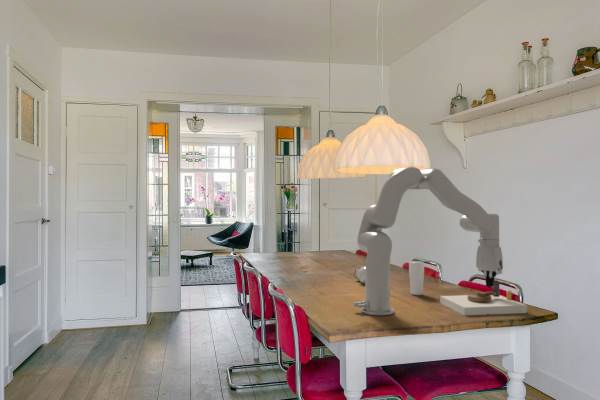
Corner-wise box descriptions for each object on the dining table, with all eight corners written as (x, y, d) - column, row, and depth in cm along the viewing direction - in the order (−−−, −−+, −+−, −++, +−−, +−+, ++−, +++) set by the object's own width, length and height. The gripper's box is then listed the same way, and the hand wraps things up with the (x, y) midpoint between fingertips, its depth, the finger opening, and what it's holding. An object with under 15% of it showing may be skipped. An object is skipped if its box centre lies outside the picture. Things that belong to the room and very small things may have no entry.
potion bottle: (369, 288, 226) (357, 286, 240) (382, 276, 229) (370, 275, 243) (358, 274, 225) (347, 273, 240) (372, 262, 228) (360, 261, 242)
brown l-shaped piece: (479, 303, 176) (479, 286, 175) (462, 298, 184) (462, 282, 184) (507, 299, 181) (507, 283, 181) (489, 295, 190) (489, 279, 189)
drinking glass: (412, 292, 212) (412, 260, 212) (426, 294, 207) (426, 261, 207) (406, 294, 206) (406, 262, 206) (420, 296, 202) (420, 263, 202)
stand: (464, 315, 170) (464, 298, 170) (440, 303, 190) (440, 287, 190) (526, 312, 174) (526, 296, 174) (496, 301, 193) (497, 286, 193)
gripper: (468, 242, 192) (469, 284, 192) (499, 245, 179) (500, 290, 180) (480, 241, 196) (480, 282, 196) (511, 243, 183) (511, 288, 183)
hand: (490, 286), depth 188 cm, fingers closed
